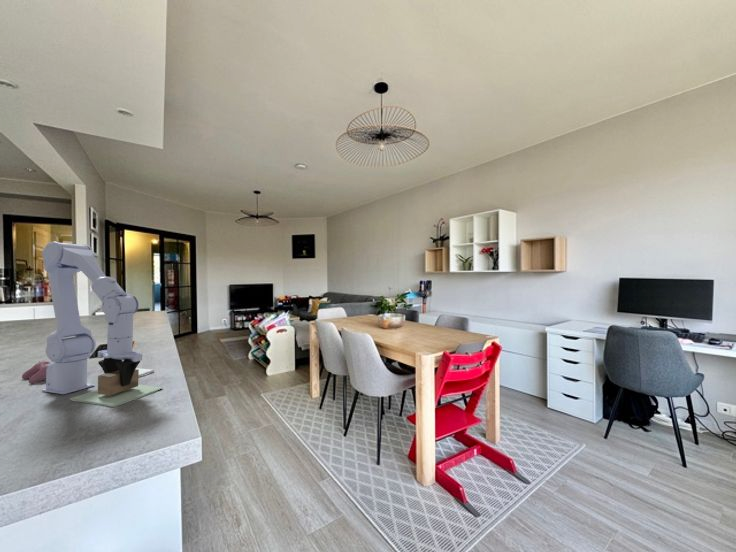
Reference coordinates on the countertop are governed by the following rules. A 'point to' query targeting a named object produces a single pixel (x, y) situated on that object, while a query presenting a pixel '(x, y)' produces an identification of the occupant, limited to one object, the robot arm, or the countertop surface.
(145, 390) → the sage mat
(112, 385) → the labeled brown box
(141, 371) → the external hard drive
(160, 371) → the countertop surface
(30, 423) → the countertop surface
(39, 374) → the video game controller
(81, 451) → the countertop surface
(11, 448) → the countertop surface
